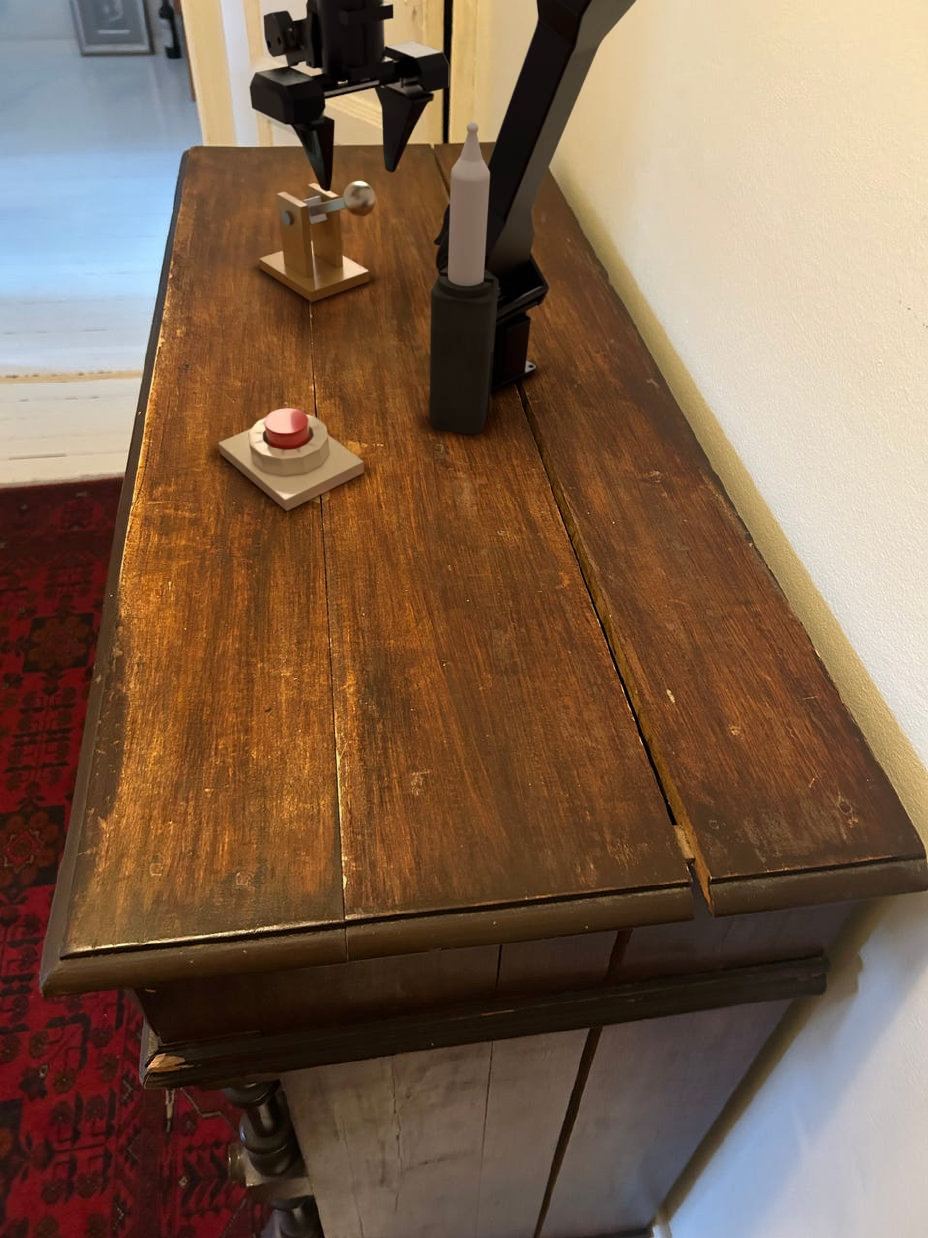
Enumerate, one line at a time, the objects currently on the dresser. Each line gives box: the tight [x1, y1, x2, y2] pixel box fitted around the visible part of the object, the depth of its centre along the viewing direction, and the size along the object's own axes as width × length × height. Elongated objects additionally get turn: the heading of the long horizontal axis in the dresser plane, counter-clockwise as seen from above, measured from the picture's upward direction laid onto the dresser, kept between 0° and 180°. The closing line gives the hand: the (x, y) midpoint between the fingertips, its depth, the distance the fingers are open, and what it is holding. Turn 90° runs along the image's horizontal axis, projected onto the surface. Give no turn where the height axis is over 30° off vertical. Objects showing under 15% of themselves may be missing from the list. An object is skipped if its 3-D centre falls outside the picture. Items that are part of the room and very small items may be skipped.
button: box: [264, 407, 310, 450], centre depth 72 cm, size 4×4×2 cm
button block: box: [217, 414, 365, 512], centre depth 74 cm, size 10×8×3 cm
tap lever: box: [301, 180, 377, 226], centre depth 90 cm, size 13×3×3 cm, turn 42°
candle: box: [428, 121, 499, 435], centre depth 72 cm, size 5×5×25 cm
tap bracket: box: [258, 182, 371, 303], centre depth 95 cm, size 10×8×9 cm
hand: (358, 180), depth 85 cm, fingers open, 8 cm apart
